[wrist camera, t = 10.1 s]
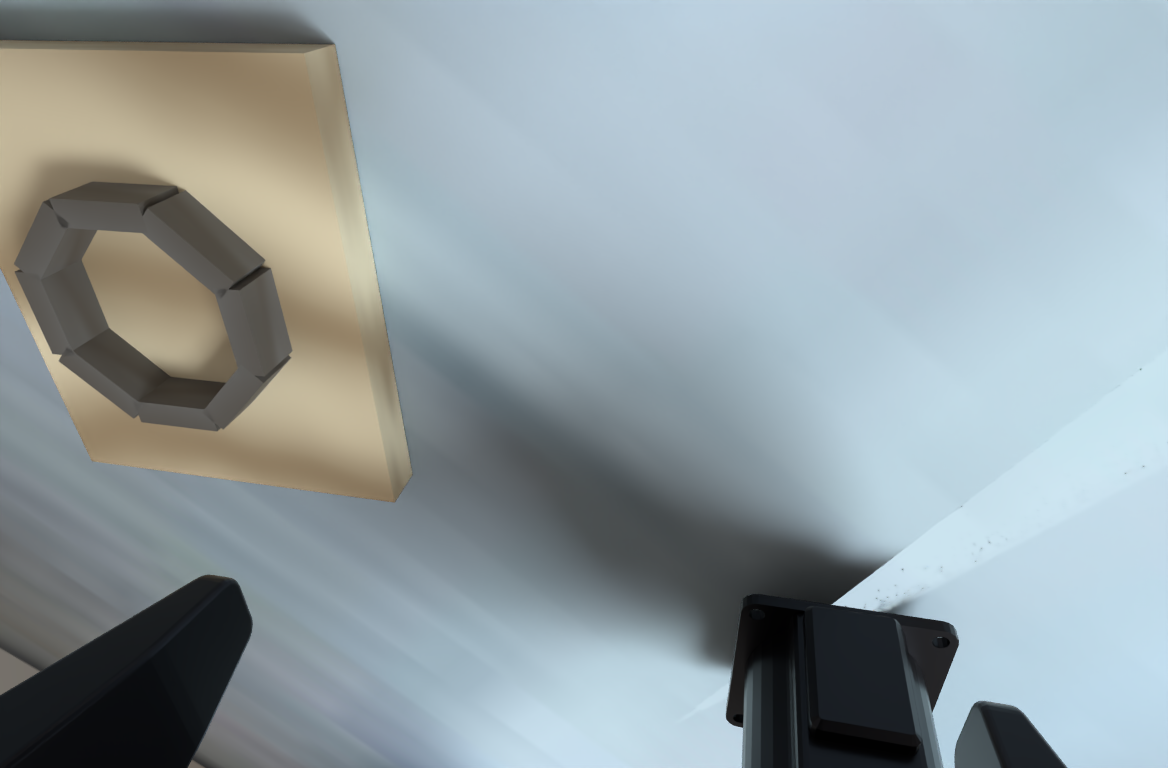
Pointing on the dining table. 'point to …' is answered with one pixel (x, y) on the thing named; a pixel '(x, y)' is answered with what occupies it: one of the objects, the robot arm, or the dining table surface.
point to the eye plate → (259, 189)
